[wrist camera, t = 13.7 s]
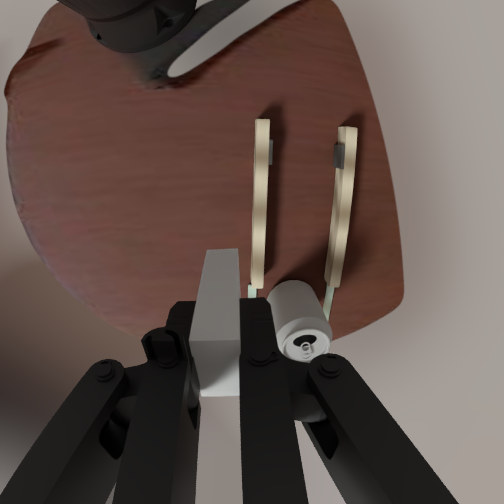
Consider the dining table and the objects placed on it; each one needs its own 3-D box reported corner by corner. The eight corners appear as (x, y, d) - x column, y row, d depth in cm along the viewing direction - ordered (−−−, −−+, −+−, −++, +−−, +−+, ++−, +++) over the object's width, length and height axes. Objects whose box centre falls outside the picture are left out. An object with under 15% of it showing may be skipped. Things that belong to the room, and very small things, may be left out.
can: (313, 273, 43) (337, 320, 32) (314, 314, 46) (335, 365, 35) (263, 281, 43) (272, 331, 32) (268, 322, 46) (277, 375, 35)
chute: (252, 120, 34) (253, 118, 31) (351, 128, 35) (359, 128, 32) (247, 322, 45) (248, 334, 43) (327, 320, 46) (332, 331, 43)
